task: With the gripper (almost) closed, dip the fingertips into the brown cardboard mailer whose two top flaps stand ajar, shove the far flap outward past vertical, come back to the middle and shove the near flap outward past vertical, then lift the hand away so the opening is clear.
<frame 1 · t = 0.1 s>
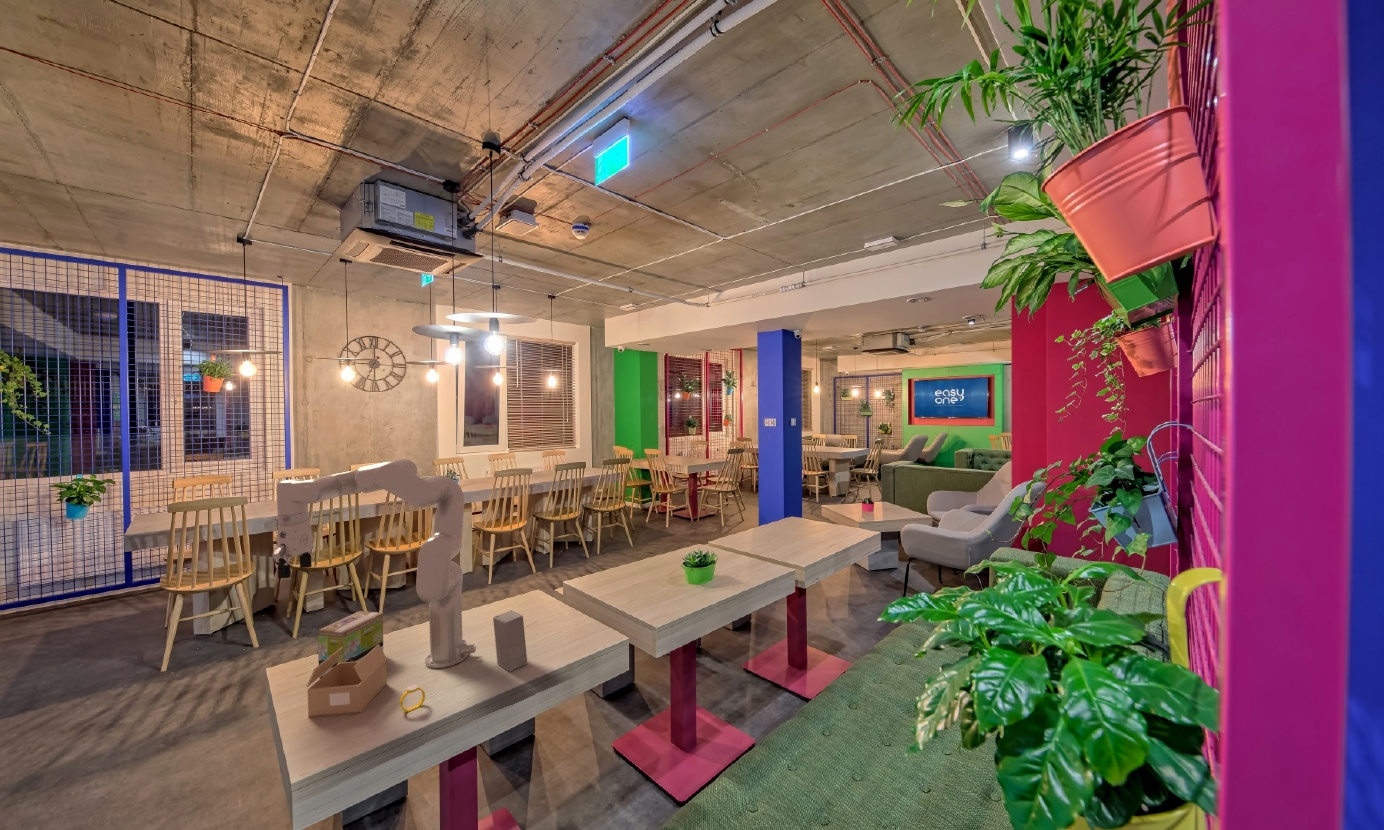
hand: (295, 572, 156), 31 cm above the table, fingers open, 9 cm apart
watch: (412, 709, 135), on the table
near flap: (370, 662, 140), point 10 cm above the table, hinge at 65.0°
far flap: (325, 665, 139), point 10 cm above the table, hinge at 65.0°
carton: (349, 699, 140), on the table
skincare box: (510, 665, 157), on the table
tea box: (352, 666, 158), on the table
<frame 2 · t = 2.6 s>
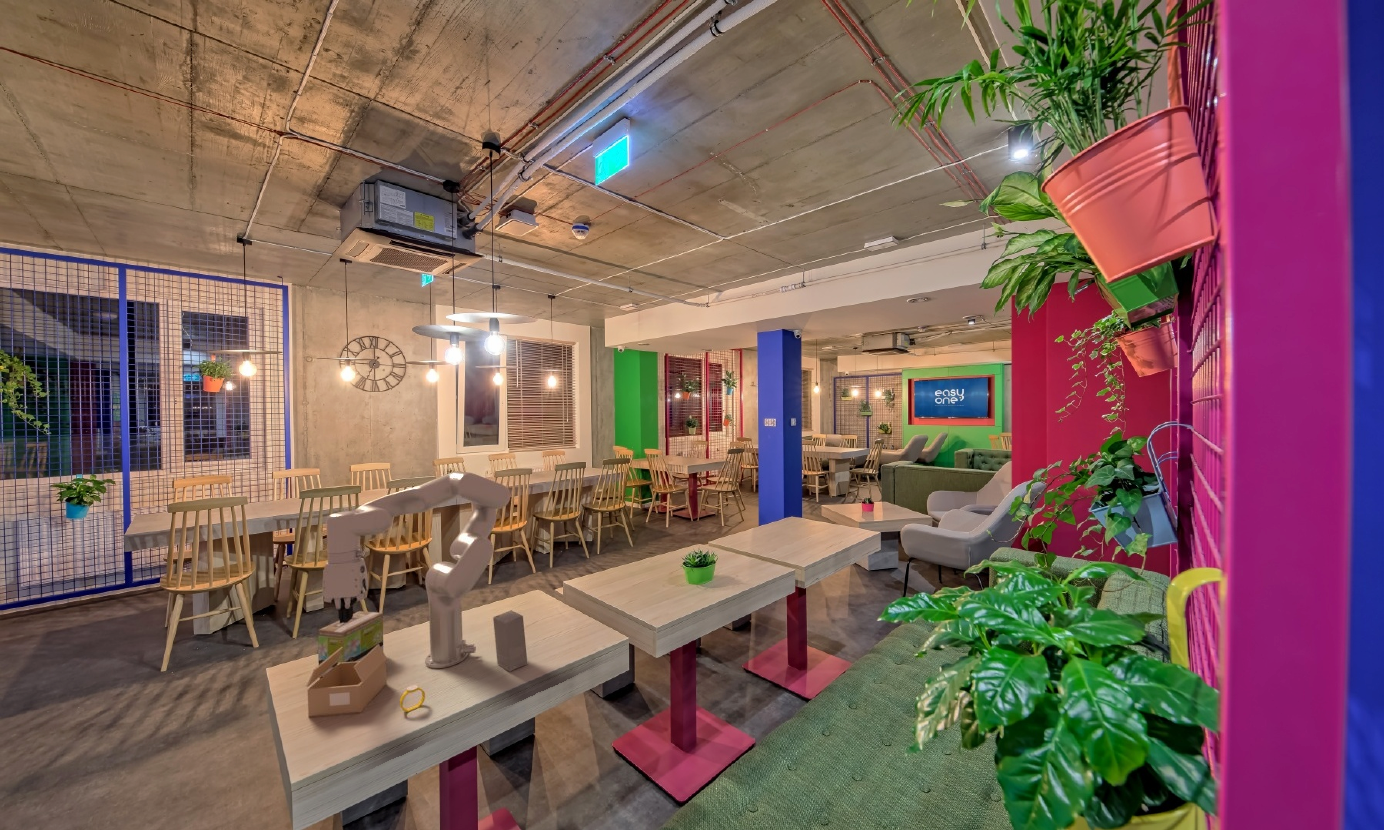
hand: (346, 620, 139), 23 cm above the table, fingers closed
nothing on the table moved.
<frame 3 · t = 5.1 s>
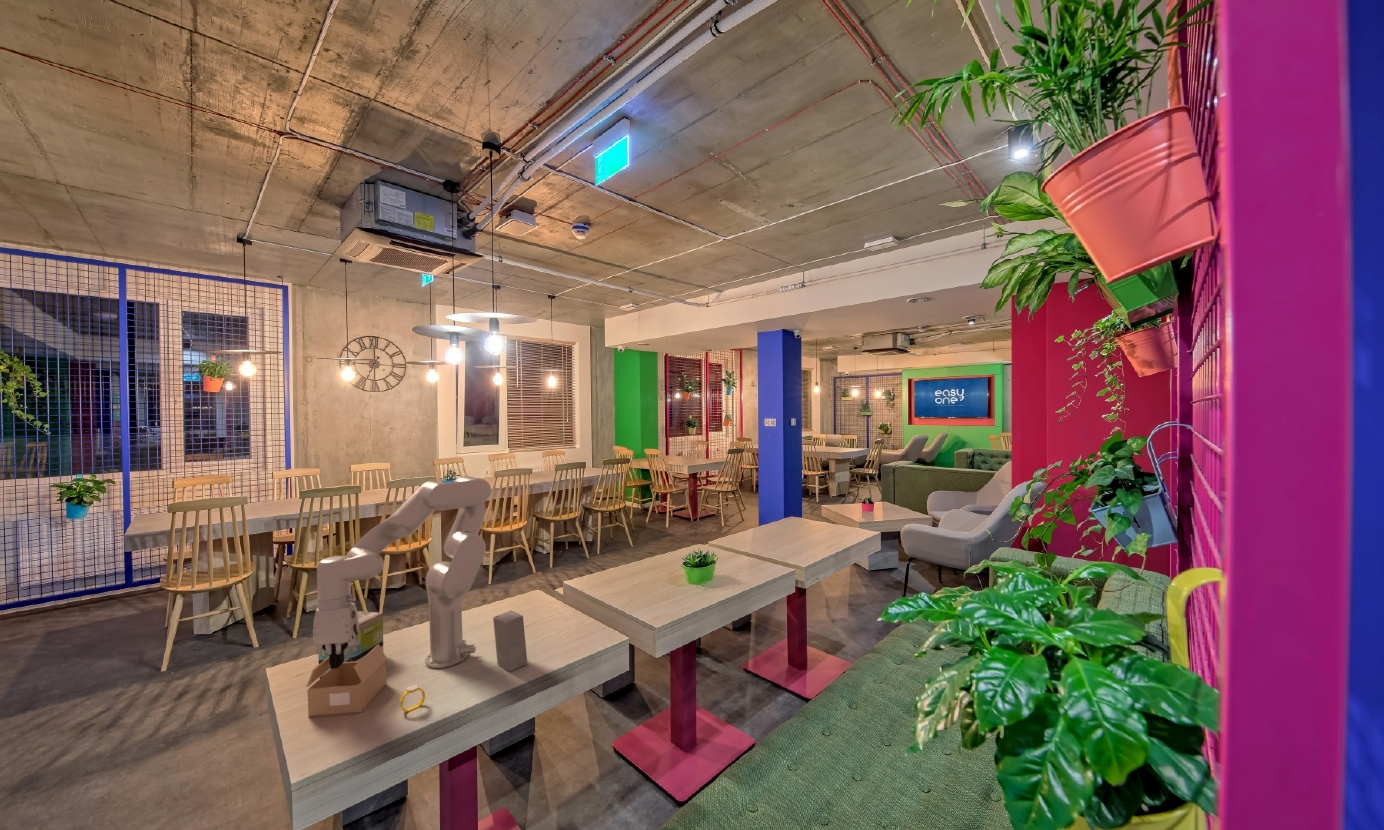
hand: (336, 666, 139), 10 cm above the table, fingers closed
far flap: (325, 665, 139), point 10 cm above the table, hinge at 67.9°, touching gripper
everything else where it was.
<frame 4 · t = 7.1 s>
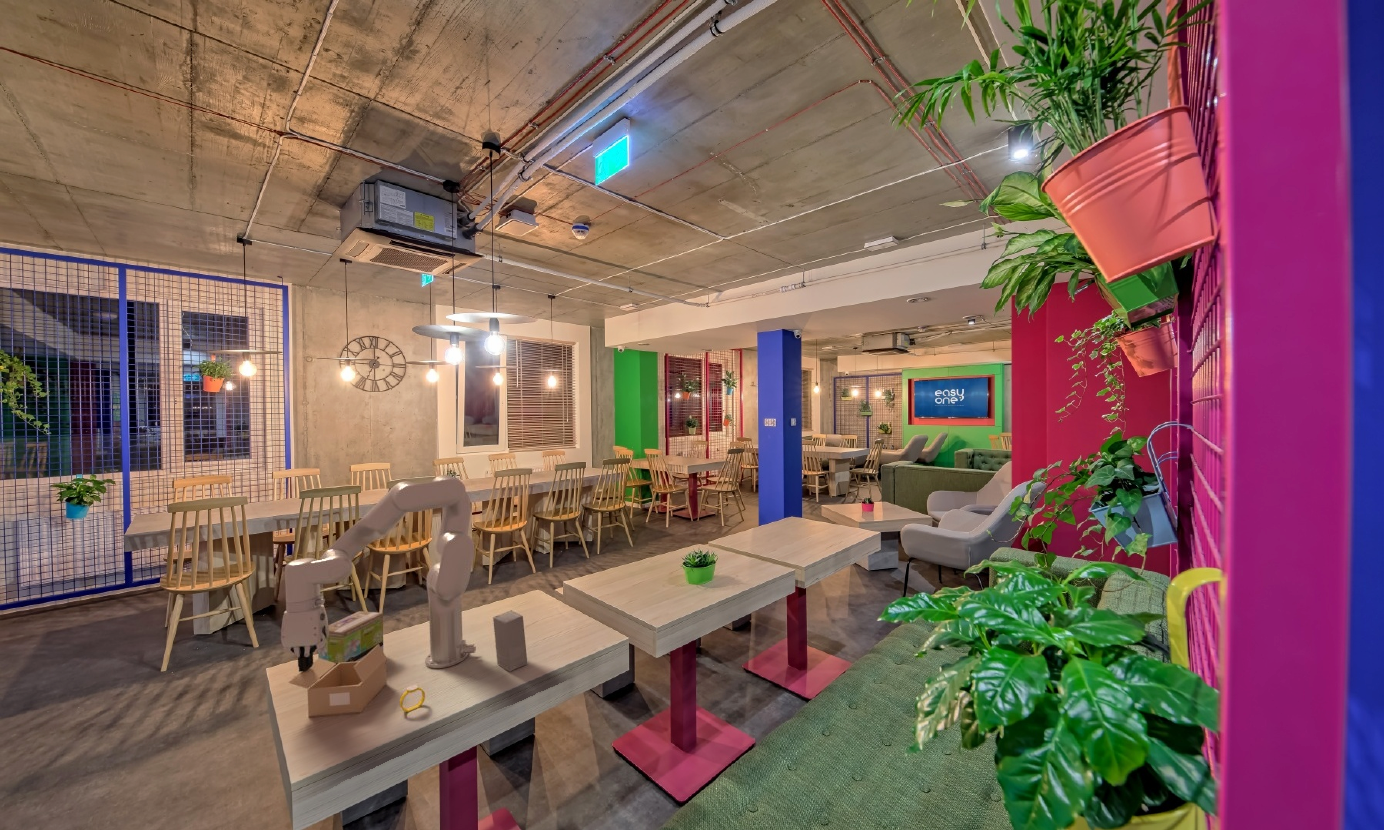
hand: (305, 668, 138), 10 cm above the table, fingers closed
far flap: (313, 672, 138), point 9 cm above the table, hinge at 156.7°
everything else where it was.
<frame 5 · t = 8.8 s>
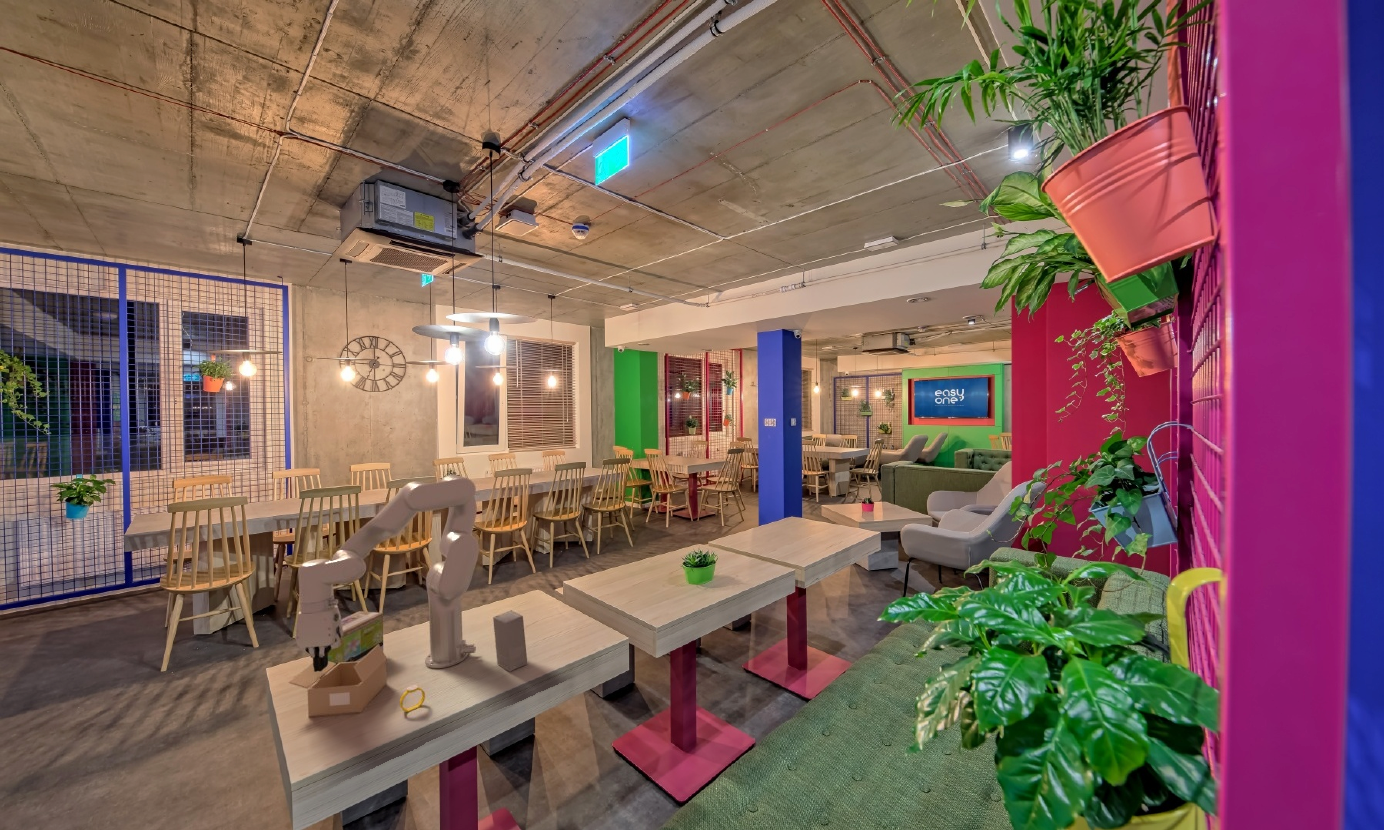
hand: (321, 668, 139), 9 cm above the table, fingers closed
far flap: (313, 672, 138), point 8 cm above the table, hinge at 157.3°
everything else where it was.
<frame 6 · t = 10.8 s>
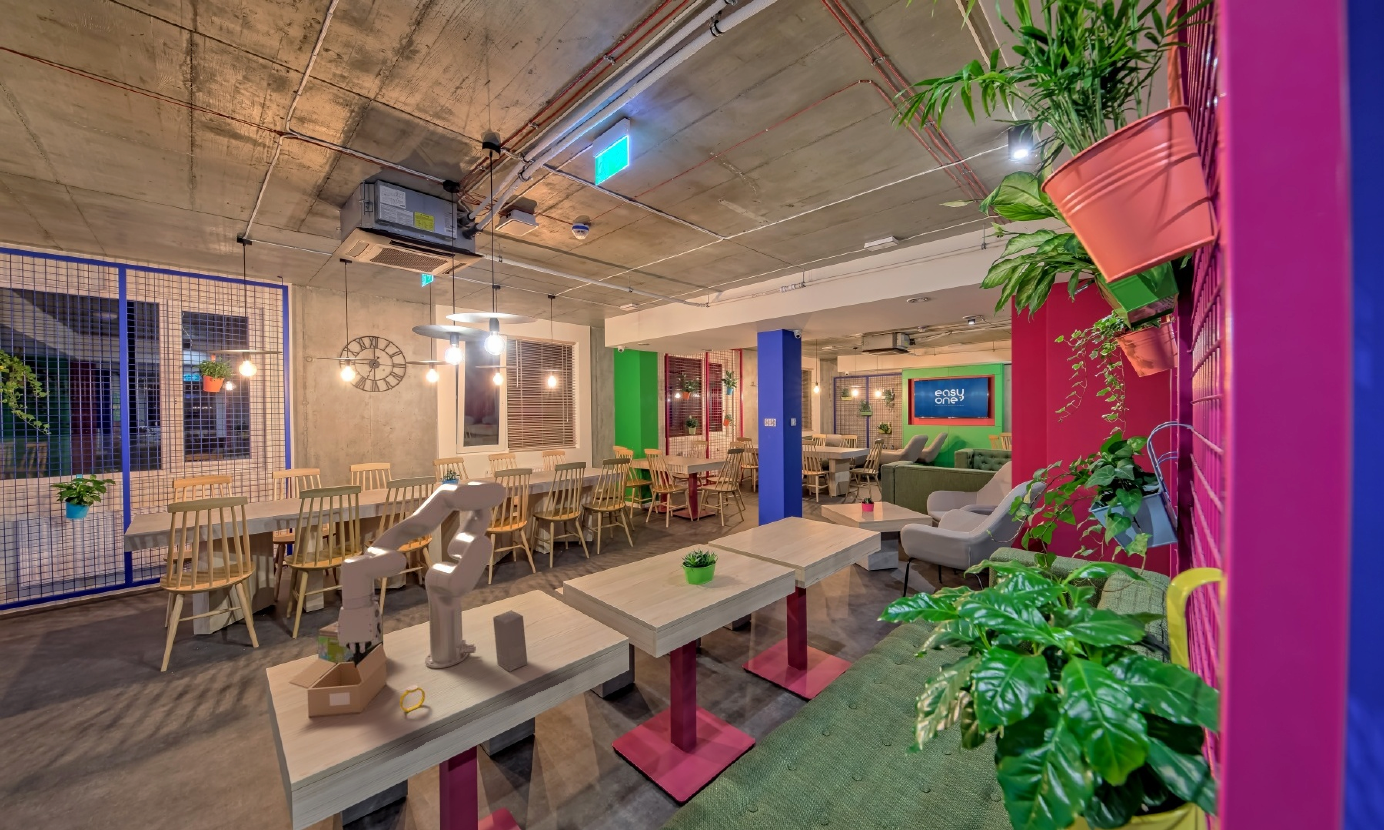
hand: (360, 664, 140), 10 cm above the table, fingers closed
near flap: (372, 662, 140), point 10 cm above the table, hinge at 74.0°, touching gripper
everything else where it was.
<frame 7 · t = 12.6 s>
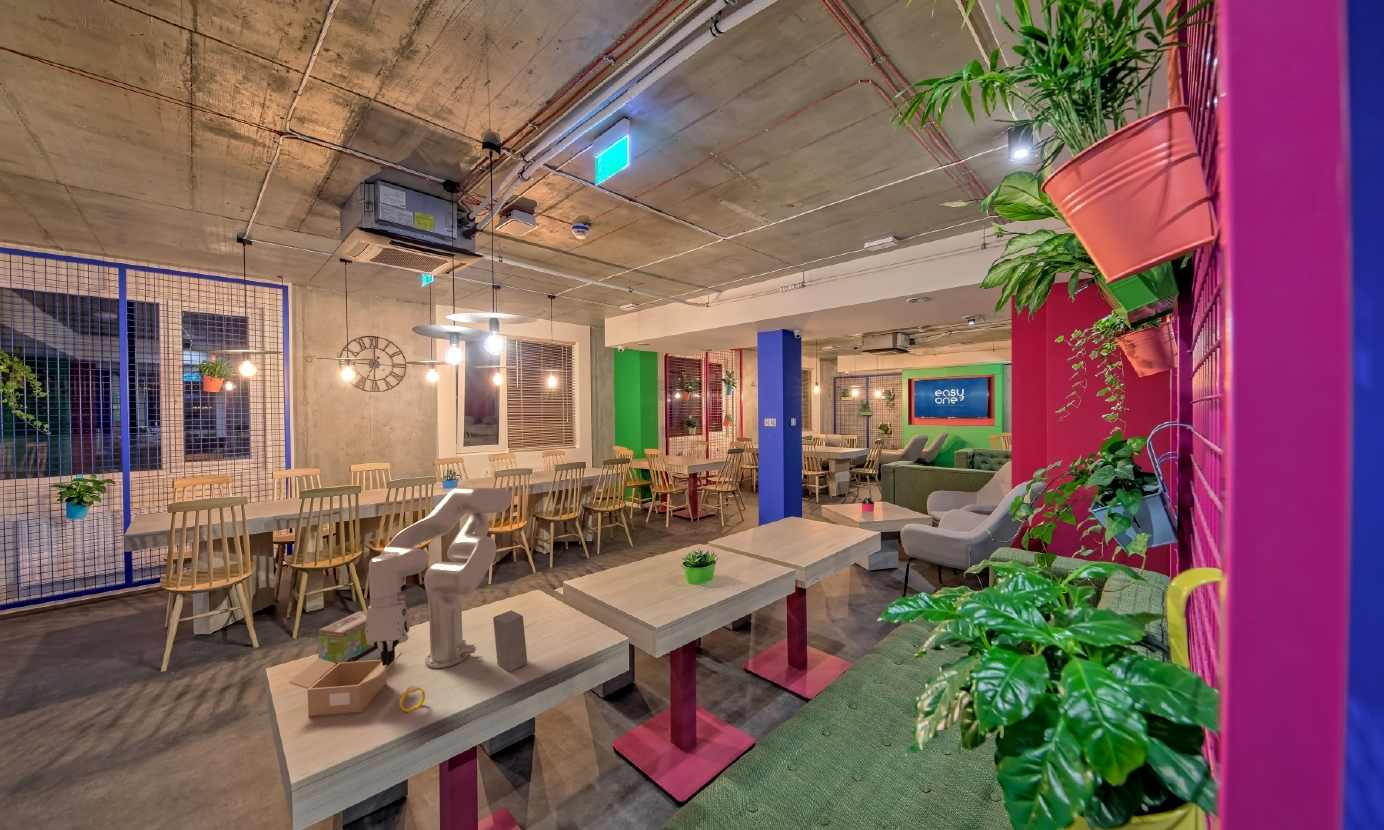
hand: (388, 662, 141), 10 cm above the table, fingers closed
near flap: (383, 667, 140), point 8 cm above the table, hinge at 157.1°, touching gripper
everything else where it was.
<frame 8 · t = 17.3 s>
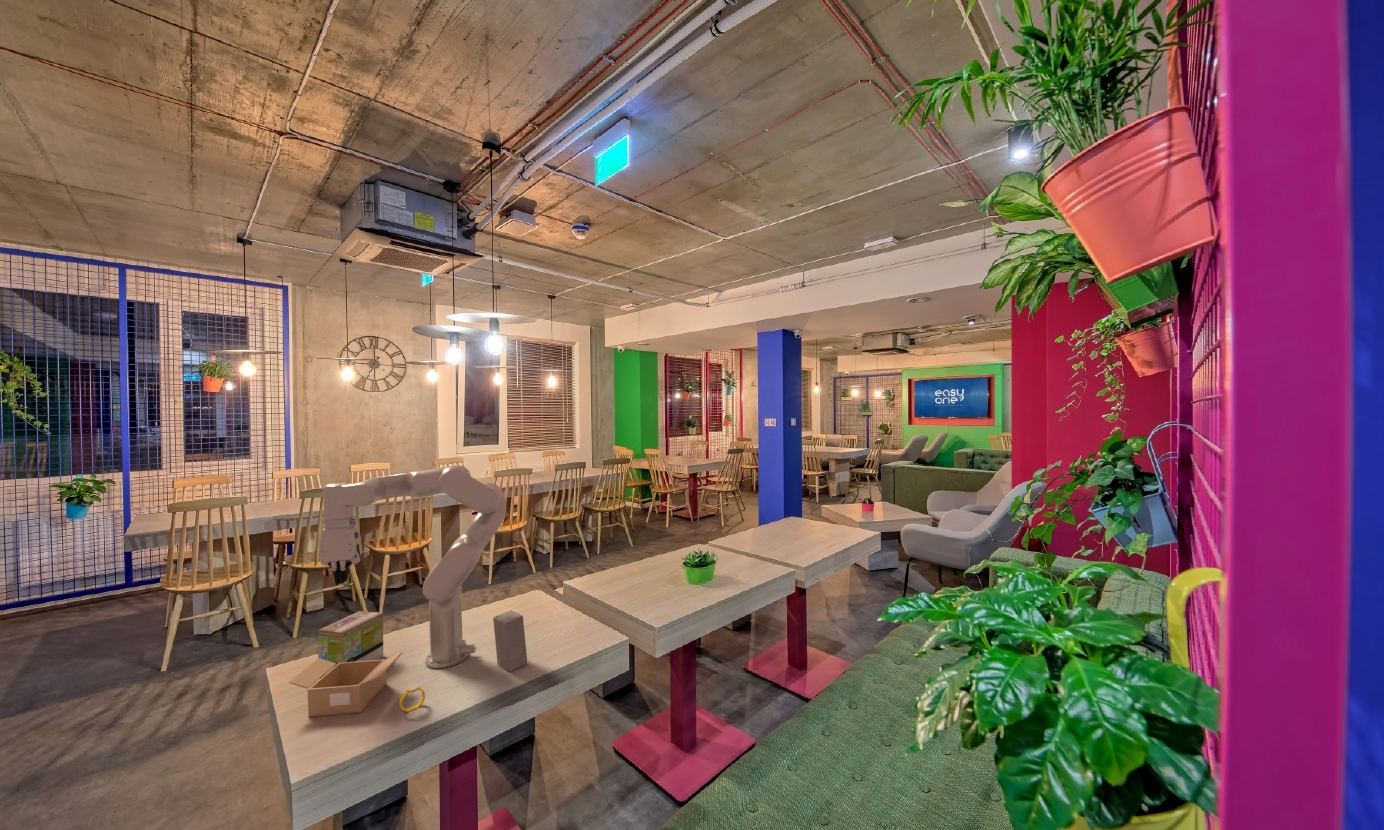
hand: (341, 582, 152), 29 cm above the table, fingers closed
near flap: (383, 667, 140), point 8 cm above the table, hinge at 157.5°
everything else where it was.
at the end: far flap at +157° (first picture: +65°); near flap at +158° (first picture: +65°) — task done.
